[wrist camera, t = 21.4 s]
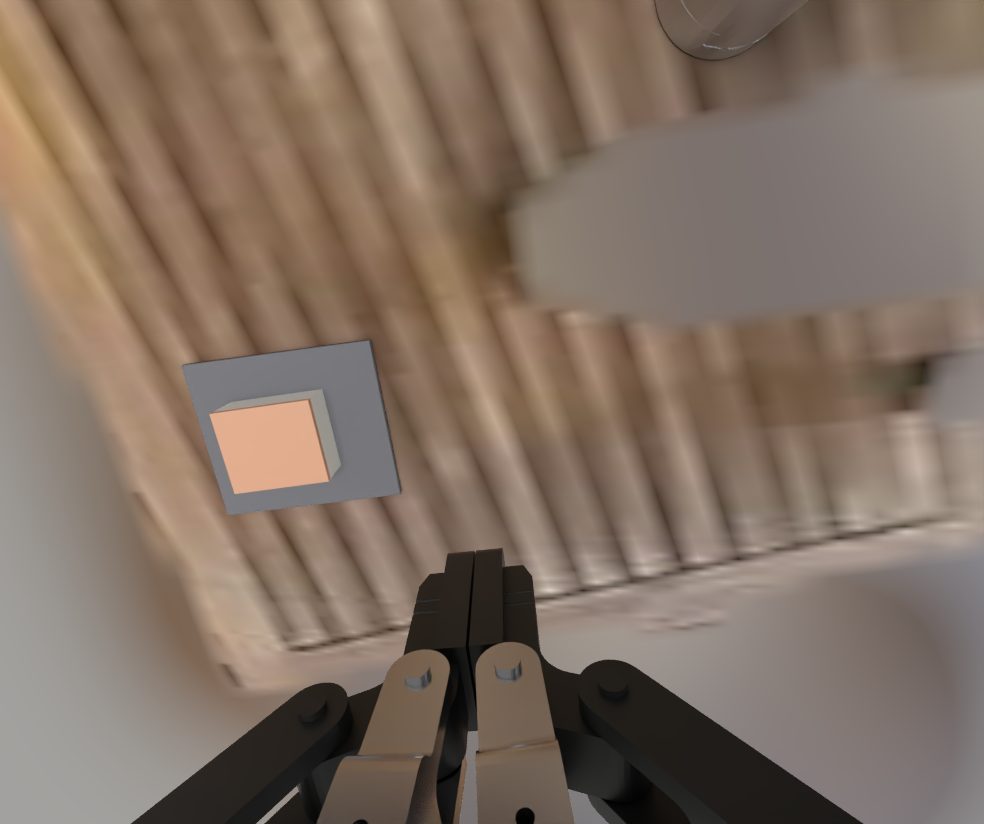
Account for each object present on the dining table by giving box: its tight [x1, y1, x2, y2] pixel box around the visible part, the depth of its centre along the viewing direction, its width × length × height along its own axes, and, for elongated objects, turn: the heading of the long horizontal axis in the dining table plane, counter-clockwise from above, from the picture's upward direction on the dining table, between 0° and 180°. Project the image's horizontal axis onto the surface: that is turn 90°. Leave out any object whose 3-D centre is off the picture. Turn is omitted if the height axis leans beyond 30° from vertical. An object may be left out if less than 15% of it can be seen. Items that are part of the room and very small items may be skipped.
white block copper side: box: [209, 389, 341, 494], centre depth 43 cm, size 7×4×8 cm
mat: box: [182, 339, 401, 515], centre depth 45 cm, size 14×16×1 cm
